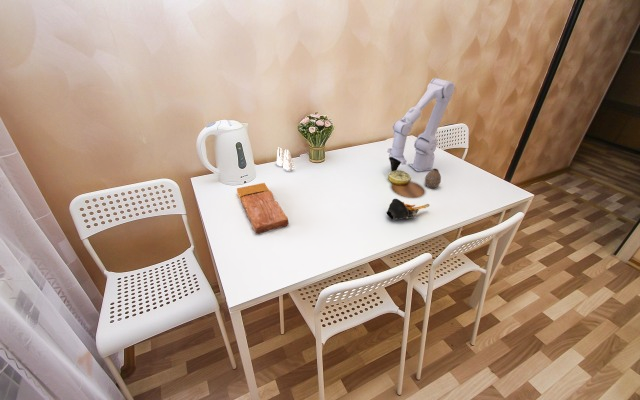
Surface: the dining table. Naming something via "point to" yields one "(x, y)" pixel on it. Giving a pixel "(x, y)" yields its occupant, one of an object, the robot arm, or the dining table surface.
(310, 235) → the dining table surface
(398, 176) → the decorated donut
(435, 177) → the vase
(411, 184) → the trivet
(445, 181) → the dining table surface
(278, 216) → the brown wooden board
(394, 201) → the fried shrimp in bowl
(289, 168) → the shaker set
